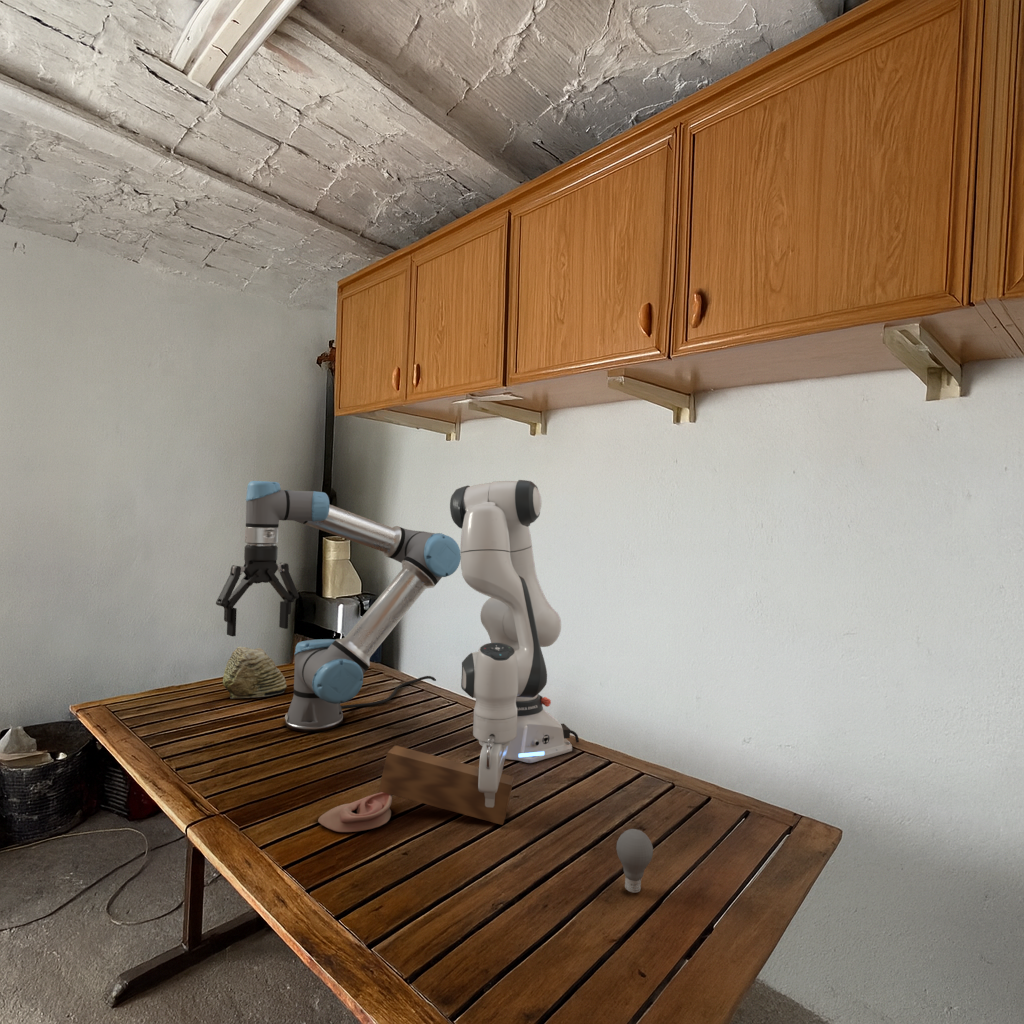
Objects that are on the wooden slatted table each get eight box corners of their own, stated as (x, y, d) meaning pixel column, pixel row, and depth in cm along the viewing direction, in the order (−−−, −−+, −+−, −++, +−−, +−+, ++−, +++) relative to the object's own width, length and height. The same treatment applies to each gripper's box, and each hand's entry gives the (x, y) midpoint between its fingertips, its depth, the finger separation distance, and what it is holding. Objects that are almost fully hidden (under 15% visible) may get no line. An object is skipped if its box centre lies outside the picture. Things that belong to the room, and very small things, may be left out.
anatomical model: (310, 807, 121) (339, 781, 132) (309, 827, 121) (338, 800, 132) (375, 817, 118) (398, 790, 129) (374, 838, 118) (398, 809, 129)
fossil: (218, 695, 195) (220, 647, 195) (278, 685, 208) (279, 640, 207) (228, 703, 189) (230, 653, 188) (289, 692, 201) (290, 645, 201)
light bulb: (610, 879, 108) (613, 822, 108) (644, 879, 109) (647, 822, 109) (619, 902, 102) (622, 840, 102) (655, 901, 103) (658, 840, 103)
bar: (378, 791, 127) (387, 752, 128) (386, 782, 133) (395, 745, 134) (502, 825, 124) (511, 785, 125) (506, 814, 130) (514, 776, 130)
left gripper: (218, 547, 142) (215, 641, 142) (315, 544, 161) (311, 627, 162) (202, 544, 146) (199, 636, 147) (298, 542, 166) (295, 622, 166)
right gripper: (505, 748, 117) (502, 821, 117) (515, 710, 137) (513, 773, 137) (471, 745, 117) (469, 819, 118) (486, 708, 138) (484, 771, 138)
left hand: (258, 631), depth 154 cm, fingers open, 13 cm apart
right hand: (493, 794), depth 128 cm, fingers open, 8 cm apart
